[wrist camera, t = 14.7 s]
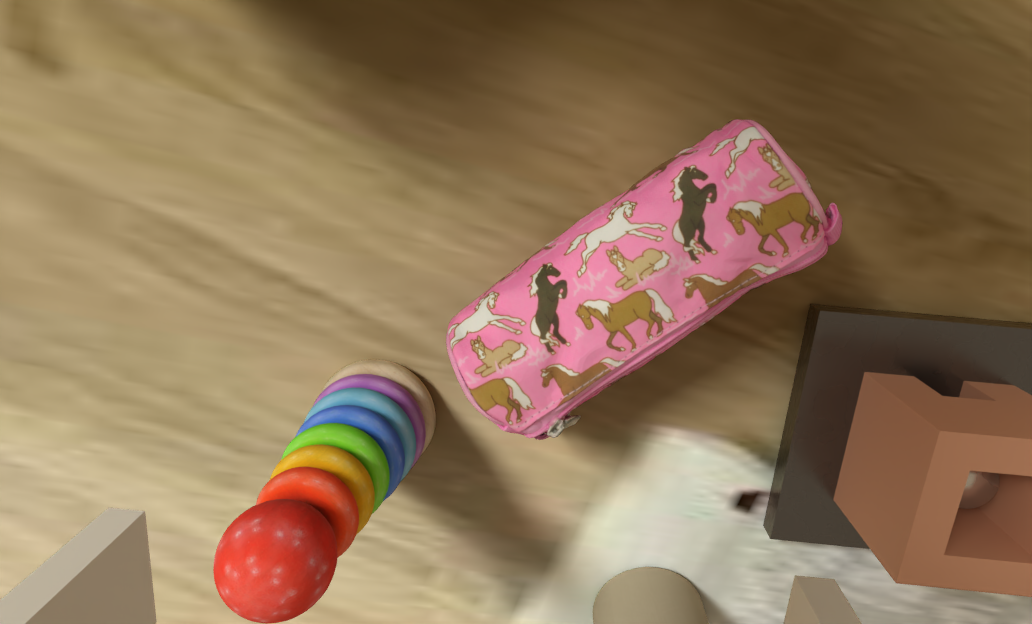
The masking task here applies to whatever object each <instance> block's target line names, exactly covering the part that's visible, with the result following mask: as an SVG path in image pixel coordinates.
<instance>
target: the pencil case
mask: <svg viewBox="0 0 1032 624" xmlns="http://www.w3.org/2000/svg"><path fill="white" fill-rule="evenodd" d="M841 230H842V217H841V215H840V213H839V211H838V209H837V206H836V204H835V203H831V204H830V205H829V206H828V208H827V209H826V213H824V211H823V208H822V206H821V205H820V203H819V201H818V199H817V197H816V196H815V194H814V193H813V191H812V188H811V185H810V183H809V180H808V178H807V177H806V175H805V174H804V173H803V171H802V170H801V169H800V168H799V167H798V166H797V165H796V164H795V163H794V162H793V161H792V160H791V158H790V157H789V156H788V155H787V154H786V153H785V152H784V151H783V150H782V148H781V147H780V146H779V144H778V143H777V142H776V141H775V139H774V138H773V137H772V135H771V134H770V133H769V132H768V131H767V130H766V129H765V128H764V127H763V126H761V125H760V124H759V123H757V122H755V121H753V120H738V119H736V120H732V121H730V122H729V123H727V124H726V125H725V126H724V127H722V128H720V129H717V130H714V131H713V132H712V133H711V134H709V135H708V136H707V137H705V138H704V139H703V140H701V141H700V142H698V143H697V144H696V145H695V146H693V147H690V148H686V149H684V150H682V151H680V152H679V153H678V154H677V155H676V156H675V157H673V158H672V159H670V160H668V161H666V162H665V163H663V164H661V165H660V166H658V167H657V168H655V169H653V170H652V171H651V172H649V173H648V174H647V175H646V176H645V177H643V178H642V179H641V180H639V181H638V182H637V183H635V184H634V185H633V186H632V187H631V188H630V189H629V190H627V191H626V192H624V193H622V194H621V195H619V196H617V197H616V198H614V199H612V200H611V201H609V202H607V203H605V204H603V205H602V206H600V207H599V208H597V209H595V210H594V211H592V212H591V213H589V214H588V215H586V216H585V217H583V218H582V219H580V220H579V221H578V222H577V223H575V224H574V225H573V226H572V227H571V228H569V229H568V230H567V231H566V232H564V233H563V234H562V235H560V236H559V237H557V238H556V239H554V240H553V241H551V242H549V243H548V244H547V245H546V246H544V247H543V248H542V249H541V250H539V251H538V252H537V253H535V254H534V255H533V256H531V257H530V258H529V259H527V260H526V261H525V262H523V263H522V264H521V265H519V266H518V267H517V268H515V269H514V270H513V271H512V272H511V273H509V274H508V275H507V276H505V277H504V278H502V279H501V280H500V281H498V282H497V283H496V284H495V285H493V286H492V287H491V288H490V289H489V290H487V291H486V292H485V293H484V294H482V295H481V296H480V297H479V298H477V299H476V300H475V301H473V302H472V303H471V304H470V305H468V306H466V307H465V308H464V309H462V310H461V311H460V312H459V313H458V314H457V315H456V316H455V317H453V318H452V320H451V321H450V323H449V326H448V332H447V335H446V345H447V351H448V354H449V358H450V361H451V364H452V367H453V369H454V372H455V374H456V377H457V379H458V381H459V383H460V386H461V388H462V390H463V392H464V393H465V395H466V397H467V399H468V400H469V401H470V402H471V404H472V405H473V406H474V407H475V408H476V409H477V410H478V411H479V412H480V413H481V414H482V415H484V416H485V417H486V418H488V419H489V420H491V421H492V422H493V423H495V424H496V425H498V426H499V428H500V429H501V430H503V431H506V432H510V433H518V434H522V435H525V436H526V437H528V438H533V437H534V438H536V439H539V440H541V439H546V438H548V437H549V436H550V437H552V438H555V437H558V436H559V435H560V434H561V432H562V431H563V429H565V428H567V427H569V426H572V425H574V424H576V423H577V421H578V420H579V419H580V417H581V415H576V416H570V412H571V411H572V410H573V409H575V408H577V407H579V406H580V405H581V404H582V403H584V402H585V401H587V400H589V399H590V398H592V397H594V396H596V395H598V394H599V393H600V392H601V391H602V390H603V389H605V388H607V387H610V386H611V385H612V384H614V383H615V382H617V381H618V380H620V379H622V378H623V377H625V376H627V375H629V374H631V373H632V372H634V371H635V370H637V369H639V368H641V367H642V366H644V365H645V364H646V363H648V362H649V361H651V360H653V359H654V358H655V357H656V356H658V355H660V354H661V353H663V352H664V351H666V350H667V349H668V348H670V347H671V346H673V345H674V344H676V343H677V342H678V341H680V340H681V339H683V338H684V337H685V336H687V335H688V334H689V333H691V332H692V331H694V330H696V329H697V328H699V327H700V326H702V325H703V324H705V323H706V322H708V321H710V320H711V319H712V318H713V317H714V316H716V315H717V314H719V313H720V312H722V311H723V310H724V309H726V308H727V307H728V306H730V305H731V304H732V303H733V302H735V301H736V300H737V299H739V298H740V297H741V296H742V295H743V294H746V293H748V292H749V291H750V290H751V289H755V288H758V287H760V286H762V285H764V284H766V283H768V282H770V281H772V280H774V279H777V278H779V277H782V276H785V275H788V274H791V273H794V272H796V271H799V270H801V269H804V268H805V267H807V266H809V265H811V264H813V263H815V262H816V261H818V260H819V259H821V258H822V257H823V256H824V255H825V254H826V253H827V251H828V246H829V245H832V244H834V243H835V242H836V241H837V240H838V239H839V237H840V235H841Z"/></svg>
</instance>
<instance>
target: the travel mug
mask: <svg viewBox="0 0 1032 624" xmlns="http://www.w3.org/2000/svg"><path fill="white" fill-rule="evenodd" d="M593 623H594V624H709V623H708V620H707V616H706V613H705V610H704V607H703V604H702V601H701V598H700V596H699V594H698V592H697V590H696V589H695V588H694V586H693V585H692V584H691V583H690V582H689V581H688V580H686V579H685V578H684V577H682V576H680V575H679V574H677V573H675V572H672V571H669V570H666V569H662V568H656V567H641V568H635V569H631V570H627V571H625V572H622V573H620V574H618V575H616V576H615V577H613V578H612V579H610V580H609V581H608V582H607V583H606V584H605V585H604V586H603V587H602V588H601V590H600V591H599V593H598V595H597V597H596V599H595V602H594V606H593Z"/></svg>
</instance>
